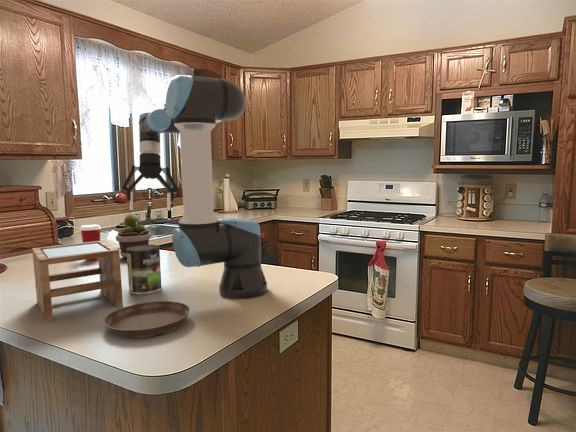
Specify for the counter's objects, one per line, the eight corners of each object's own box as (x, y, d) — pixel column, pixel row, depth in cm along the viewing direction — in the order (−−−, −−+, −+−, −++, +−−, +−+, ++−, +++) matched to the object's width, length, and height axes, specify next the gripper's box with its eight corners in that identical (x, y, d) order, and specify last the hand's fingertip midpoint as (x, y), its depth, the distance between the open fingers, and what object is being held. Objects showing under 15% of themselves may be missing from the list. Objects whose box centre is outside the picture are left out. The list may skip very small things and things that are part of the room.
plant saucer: (86, 332, 103) (85, 319, 102) (153, 307, 120) (152, 295, 120) (142, 350, 92) (141, 336, 91) (206, 320, 109) (206, 307, 109)
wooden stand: (122, 305, 121) (119, 249, 119) (45, 321, 109) (39, 260, 107) (106, 290, 136) (103, 240, 134) (37, 302, 125) (32, 248, 123)
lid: (108, 253, 119) (108, 250, 119) (49, 261, 111) (48, 258, 110) (97, 246, 131) (96, 243, 131) (42, 252, 123) (42, 249, 123)
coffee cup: (107, 258, 183) (104, 225, 181) (89, 262, 176) (87, 227, 174) (95, 256, 187) (93, 223, 186) (78, 260, 181) (75, 226, 179)
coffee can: (168, 288, 138) (166, 246, 136) (143, 296, 129) (140, 251, 127) (147, 283, 143) (145, 243, 141) (121, 291, 134) (118, 248, 133)
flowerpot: (157, 257, 184) (154, 212, 181) (120, 262, 175) (117, 215, 173) (147, 252, 196) (145, 209, 193) (113, 256, 187) (110, 212, 185)
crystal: (100, 236, 219) (114, 243, 201) (112, 228, 223) (127, 234, 204) (109, 247, 222) (123, 255, 204) (120, 239, 226) (136, 246, 207)
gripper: (180, 158, 167) (181, 210, 166) (113, 154, 156) (114, 210, 155) (185, 154, 161) (186, 209, 159) (115, 149, 149) (115, 208, 148)
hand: (150, 210), depth 157 cm, fingers open, 13 cm apart
